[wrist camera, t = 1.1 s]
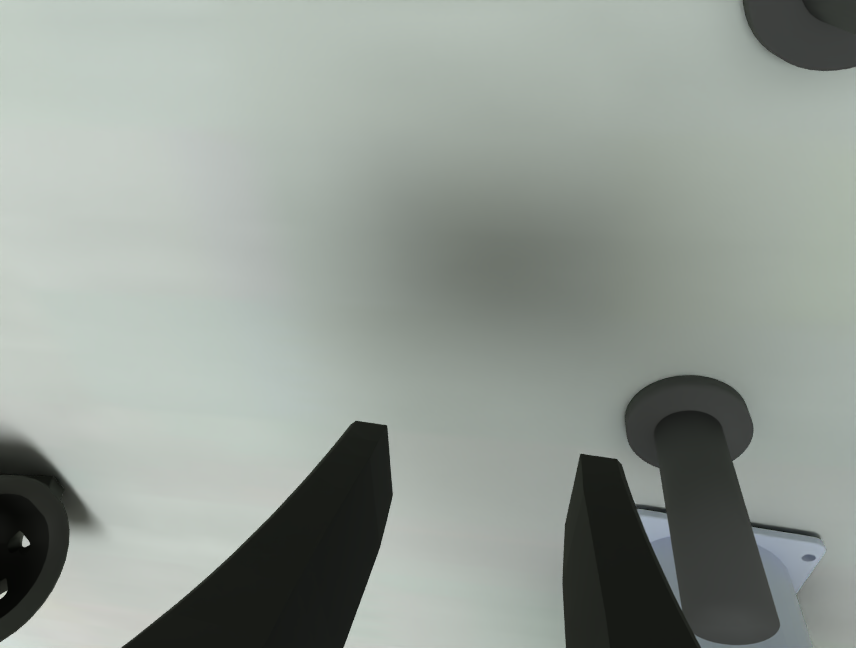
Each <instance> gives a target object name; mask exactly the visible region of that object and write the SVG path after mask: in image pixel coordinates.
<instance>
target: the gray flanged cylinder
mask: <svg viewBox="0 0 856 648" xmlns="http://www.w3.org/2000/svg"><path fill="white" fill-rule="evenodd" d="M625 422H626V432H627V439H628V442H629V445H630V447H631V448H632V450H633V451H634V452H635V453H636V455H637V456H639V457H640V458H641V459H642V460H644V461H645V462H647V463H649V464H651V465H653V466H655V467H658V468H660V475H661V481H662V487H663V493H664V500H665V506H666V512H667V519H668V525H669V531H670V538H671V544H672V550H673V556H674V563H675V569H676V575H677V582H678V588H679V594H680V601H681V607H682V612H683V614H684V616H685V618H686V620H687V622H688V624H689V625H690V627H691V629H692V631H693V633H694V635H696V636H698V637H700V638H702V639H705V640H707V641H711V642H714V643H719V644H726V645H748V644H755V643H759V642H762V641H765V640H767V639H769V638H771V637H772V636H774V635H775V634H776V633H777V632H778V630H779V628H780V621H779V618H778V614H777V611H776V607H775V604H774V601H773V597H772V594H771V590H770V587H769V584H768V580H767V577H766V574H765V570H764V567H763V563H762V560H761V557H760V553H759V550H758V547H757V543H756V540H755V536H754V533H753V530H752V526H751V523H750V519H749V516H748V513H747V509H746V506H745V503H744V499H743V496H742V492H741V489H740V486H739V482H738V479H737V475H736V472H735V469H734V465H733V462H732V461H733V460H735V459H736V458H737V457H739V456H740V455H741V454H742V453H743V452H744V451H745V450H746V448H747V447H748V446H749V444H750V442H751V439H752V437H753V423H752V420H751V417H750V414H749V411H748V409H747V406H746V404H745V401H744V399H743V398H742V397H741V395H740V394H739V393H738V392H737V391H736V390H734V389H733V388H732V387H730V386H729V385H727V384H725V383H723V382H721V381H718V380H715V379H712V378H708V377H702V376H676V377H671V378H666V379H663V380H660V381H657V382H655V383H653V384H651V385H649V386H647V387H645V388H644V389H642V390H641V391H640V392H639V393H638V394H636V395H635V396H634V398H633V399H632V400H631V402H630V403H629V405H628V407H627V410H626V415H625Z"/></svg>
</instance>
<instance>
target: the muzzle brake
mask: <svg viewBox="0 0 856 648" xmlns="http://www.w3.org/2000/svg"><path fill="white" fill-rule="evenodd" d="M63 492H64V488H63V487H62V486H61V485H60V484H59V482H58V481H57V480H56V479H55V478H54V477H53V476H35V475H13V474H0V594H2V593H3V592H5V591H7V590H8V591H7V593H6V595H5V596H4V597H3V598H1V599H0V642H1V641H3V640H4V639H6V638H7V637H9V636H10V635H11V634H13V633H14V632H16V631H17V630H18V629H19V628H20V627H22V626H23V625H24V624H25V623H26V622H27V621H28V620H30V619H31V617H32V616H33V615H34V614H35V613H36V612H37V611H38V610H39V608H40V607H41V606H42V605H43V603H44V602H45V601H46V599H47V598H48V596H49V595H50V593H51V592H52V590H53V589H54V587H55V585H56V583H57V581H58V579H59V577H60V574H61V572H62V569H63V566H64V563H65V560H66V556H67V551H68V546H69V523H68V517H67V514H66V511H65V508H64V506H63V503H62V502H61V501H60V500H61V497H62V495H63ZM24 535H25V537H26V538H27V539H28V540H29V542H30V545H29V546H27V547H23V546H22V539H23V536H24Z"/></svg>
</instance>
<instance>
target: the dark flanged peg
mask: <svg viewBox="0 0 856 648" xmlns="http://www.w3.org/2000/svg"><path fill="white" fill-rule="evenodd" d="M743 5H744V10H745V15H746V18H747V21H748V24H749V26H750V28H751V30H752V32H753V34H754V35H755V37H756V38H757V39H758V40H759V42H760V43H761V44H762V45H763V46H764V47H766V48H767V49H768V50H769V51H770V52H772V53H773V54H775V55H776V56H778V57H779V58H781V59H783V60H784V61H786V62H788V63H790V64H792V65H795V66H797V67H801V68H805V69H809V70H819V71H833V70H841V69H848V68H852V67H856V0H743Z"/></svg>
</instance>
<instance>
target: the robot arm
mask: <svg viewBox="0 0 856 648" xmlns="http://www.w3.org/2000/svg"><path fill="white" fill-rule="evenodd" d="M392 496H393V493H392V480H391V467H390V455H389V442H388V430H387V425H381V424H374V423H367V422H360V421H355V422H354V423H352V424H351V425H350V426H349V427H348V429H347V430H346V431H345V432H344V434H343V435H342V436H341V437H340V439H339V440H338V441H337V442H336V443H335V445H334V446H333V447H332V448H331V450H330V451H329V452H328V453H327V454H326V456H325V457H324V458H323V459H322V460H321V461H320V463H319V464H318V465H317V466H316V467H315V468H314V469H313V471H312V472H311V473H310V474H309V475H308V476H307V478H306V479H305V480H304V481H303V482H302V483H301V484H300V485H299V486H298V487H297V488H296V490H295V491H294V492H293V493H292V494H291V495H290V496H289V497H288V498H287V499H286V500H285V502H284V503H283V504H282V505H281V506H280V507H279V508H278V509H277V510H276V511H275V512H274V513H273V514H272V515H271V516H270V517H269V519H268V520H267V521H265V522H264V523H263V524H262V525H261V526H260V527H259V528H258V529H257V530H256V531H255V532H254V533H253V534H252V535H251V536H250V537H249V538H248V539H247V540H246V541H245V542H244V543H243V544H242V545H241V546H240V547H239V548H238V549H237V550H236V551H235V552H234V553H233V554H232V555H231V556H230V557H229V558H228V559H227V560H226V561H225V562H223V563H222V564H221V565H220V566H219V567H218V568H217V569H216V570H215V571H214V572H213V573H211V574H210V575H209V576H208V577H207V578H206V579H205V580H204V581H202V582H201V583H200V584H199V585H198V586H197V587H196V588H194V589H193V590H192V591H191V592H190V593H189V594H187V595H186V596H185V597H184V598H183V599H182V600H180V601H179V602H178V603H177V604H176V605H174V606H173V607H172V608H171V609H169V610H168V611H167V612H166V613H165V614H163V615H162V616H161V617H160V618H158V619H157V620H156V621H155V622H153V623H152V624H151V625H150V626H148V627H147V628H146V629H145V630H143V631H142V632H141V633H140V634H138V635H137V636H136V637H135V638H133V639H132V640H131V641H129V642H128V643H127V644H125V645H124V646H123V647H122V648H343V647H344V645H345V642H346V639H347V637H348V634H349V631H350V628H351V626H352V623H353V620H354V617H355V615H356V612H357V609H358V607H359V604H360V601H361V598H362V596H363V593H364V590H365V587H366V585H367V582H368V579H369V576H370V574H371V571H372V568H373V565H374V563H375V560H376V557H377V554H378V551H379V549H380V545H381V541H382V537H383V533H384V529H385V525H386V521H387V517H388V513H389V509H390V505H391V500H392ZM752 530H753V533H754V536H755V540H756V543H757V547H758V550H759V553H760V557H761V560H762V563H763V567H764V570H765V574H766V577H767V580H768V584H769V587H770V590H771V594H772V597H773V601H774V604H775V607H776V611H777V614H778V618H779V621H780V628H779V630H778V632H777V633H776V634H775V635H774V636H772V637H771V638H769V639H767V640H765V641H762V642H759V643H755V644H748V645H726V644H719V643H714V642H711V641H707V640H705V639H702V638H700V637H698V636H696V635H694V633H693V631H692V629H691V627H690V625H689V624H688V622H687V620H686V618H685V616H684V614H683V612H682V607H681V601H680V594H679V588H678V582H677V575H676V569H675V563H674V556H673V550H672V544H671V538H670V531H669V525H668V519H667V513H662V512H656V511H650V510H644V509H637V508H636V506H635V503H634V501H633V498H632V495H631V492H630V489H629V486H628V483H627V480H626V477H625V474H624V471H623V467H622V464H621V463H620V462H619V461H618V460H617V459H612V458H605V457H599V456H592V455H585V454H580V458H579V463H578V467H577V472H576V477H575V481H574V486H573V490H572V495H571V500H570V504H569V509H568V514H567V518H566V523H565V538H564V558H563V601H564V620H565V639H566V648H814V647H813V644H812V641H811V638H810V635H809V632H808V629H807V626H806V623H805V620H804V617H803V614H802V611H801V608H800V605H799V602H798V599H797V596H796V594H797V592H798V591H799V590H800V588H801V587H802V585H803V584H804V583H805V581H806V580H807V578H808V577H809V575H810V574H811V573H812V571H813V570H814V568H815V567H816V565H817V564H818V563H819V561H820V560H821V558H822V557H823V556H824V554H825V553H826V547H825V545H824V542H823V541H822V540H821V539H819V538H816V537H812V536H805V535H799V534H793V533H787V532H781V531H774V530H768V529H762V528H756V527H752Z"/></svg>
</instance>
